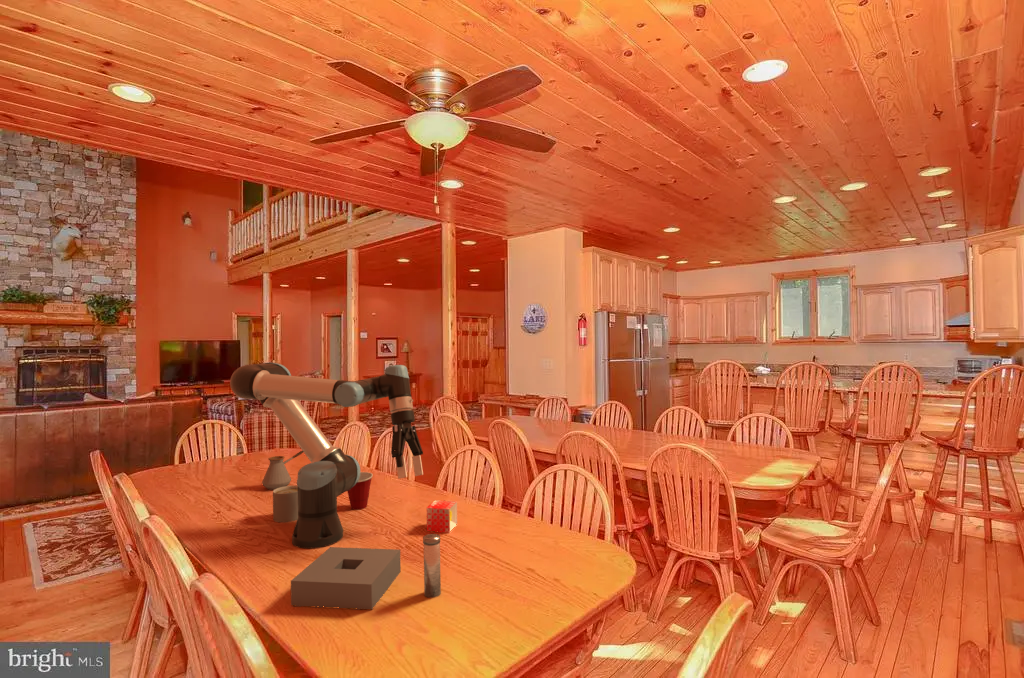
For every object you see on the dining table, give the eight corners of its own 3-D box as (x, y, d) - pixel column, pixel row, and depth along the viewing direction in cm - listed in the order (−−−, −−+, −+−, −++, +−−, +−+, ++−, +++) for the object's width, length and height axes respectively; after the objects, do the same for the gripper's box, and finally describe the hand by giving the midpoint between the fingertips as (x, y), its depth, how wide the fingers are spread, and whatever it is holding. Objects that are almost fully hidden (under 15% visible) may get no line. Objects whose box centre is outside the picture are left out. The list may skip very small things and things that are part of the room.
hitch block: (291, 605, 124) (290, 580, 124) (330, 568, 144) (330, 547, 144) (371, 610, 121) (371, 584, 121) (400, 571, 141) (400, 549, 141)
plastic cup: (337, 510, 193) (336, 478, 193) (356, 501, 203) (355, 470, 203) (361, 513, 189) (360, 480, 189) (379, 504, 199) (378, 473, 199)
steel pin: (421, 597, 127) (420, 540, 127) (426, 589, 131) (425, 533, 131) (438, 598, 127) (437, 540, 126) (443, 589, 131) (442, 534, 131)
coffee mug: (283, 524, 179) (283, 495, 179) (267, 518, 185) (267, 490, 185) (317, 513, 190) (317, 485, 190) (301, 508, 196) (300, 481, 196)
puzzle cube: (449, 533, 169) (449, 508, 169) (426, 531, 170) (426, 507, 170) (457, 524, 177) (457, 501, 177) (435, 523, 178) (434, 500, 178)
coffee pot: (269, 493, 216) (269, 457, 216) (257, 488, 224) (256, 453, 224) (317, 481, 233) (317, 448, 232) (304, 477, 240) (304, 445, 240)
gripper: (397, 406, 160) (406, 476, 155) (426, 411, 184) (435, 472, 179) (374, 411, 161) (383, 481, 156) (406, 415, 185) (415, 476, 180)
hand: (411, 476), depth 168 cm, fingers open, 13 cm apart
